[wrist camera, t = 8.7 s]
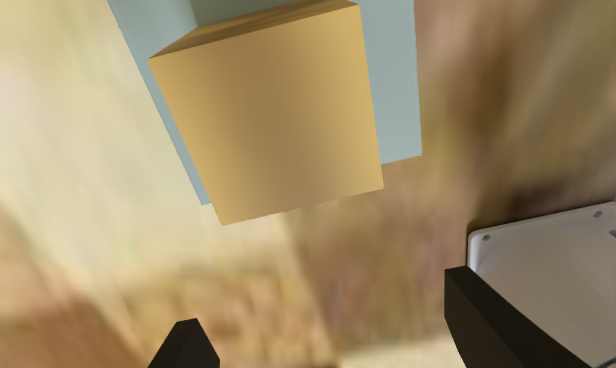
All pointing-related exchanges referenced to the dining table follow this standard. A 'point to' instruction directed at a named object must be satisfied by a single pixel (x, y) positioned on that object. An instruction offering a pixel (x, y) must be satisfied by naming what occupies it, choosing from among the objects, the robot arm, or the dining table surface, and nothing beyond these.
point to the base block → (231, 3)
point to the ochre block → (275, 107)
